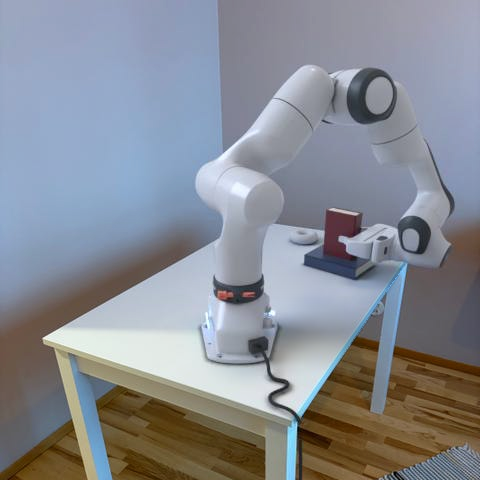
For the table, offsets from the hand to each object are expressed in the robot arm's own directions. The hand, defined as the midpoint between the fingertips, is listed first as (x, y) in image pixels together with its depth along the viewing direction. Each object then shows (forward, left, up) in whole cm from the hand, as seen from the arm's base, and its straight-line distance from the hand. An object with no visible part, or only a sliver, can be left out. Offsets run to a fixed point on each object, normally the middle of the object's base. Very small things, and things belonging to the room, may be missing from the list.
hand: (347, 233), depth 141 cm
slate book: (+1, +1, -11) cm, 11 cm away
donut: (+23, +11, -11) cm, 28 cm away
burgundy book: (+1, +2, -7) cm, 8 cm away
